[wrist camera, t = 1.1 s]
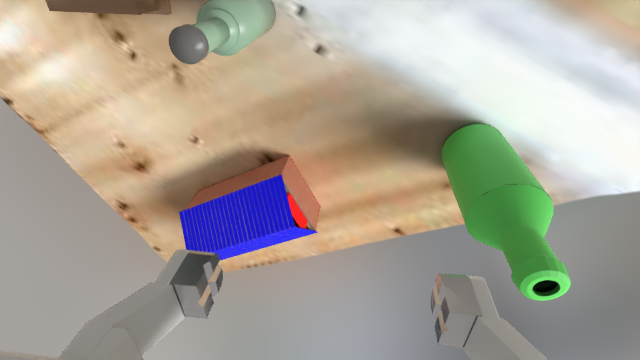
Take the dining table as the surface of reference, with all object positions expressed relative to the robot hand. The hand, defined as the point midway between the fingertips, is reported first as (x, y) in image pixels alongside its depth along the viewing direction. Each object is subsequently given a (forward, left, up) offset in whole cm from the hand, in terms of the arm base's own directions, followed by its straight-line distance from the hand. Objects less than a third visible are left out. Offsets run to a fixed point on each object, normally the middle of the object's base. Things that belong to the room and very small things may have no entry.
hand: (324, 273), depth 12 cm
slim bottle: (-4, -13, -37) cm, 39 cm away
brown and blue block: (+26, -15, -38) cm, 48 cm away
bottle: (+13, +18, -37) cm, 43 cm away
